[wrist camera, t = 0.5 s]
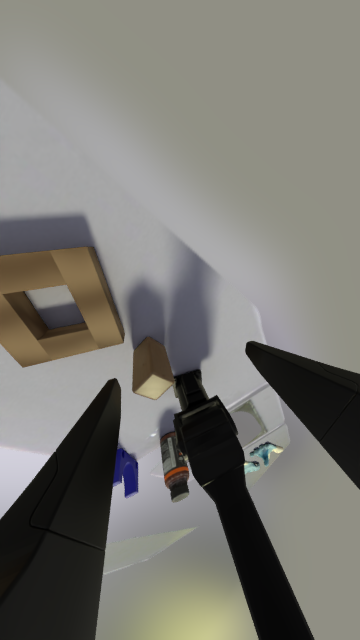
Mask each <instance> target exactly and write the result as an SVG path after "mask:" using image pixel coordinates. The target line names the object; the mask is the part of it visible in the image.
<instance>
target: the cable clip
mask: <svg viewBox="0 0 360 640" xmlns="http://www.w3.org/2000/svg"><path fill="white" fill-rule="evenodd" d="M122 475H123V478H124V486H125V498H129V497H131V496H133V495H135V494H137V493H138V462H137V461H135V460H134V459H133V458H132V457H131V456H130V455H128V454H127V453H126V452H125V451H124V450H123V449H122V448H121V449H118V450H117V455H116V463H115V472H114V480H113V487H114V486H116V485H118V484H120V483H122Z"/></svg>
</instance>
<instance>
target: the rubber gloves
mask: <svg viewBox="0 0 360 640" xmlns="http://www.w3.org/2000/svg"><path fill="white" fill-rule="evenodd" d="M268 448H269V449H268ZM272 451H274V452H276V453H280V452H282V451H283V448H282V447H279V446H274V445H272V444H265V445H261V446H260V447H259V448H258V449H256V450H255V451H254V452H252V453H250V456H251V457H253V456H254V455H257V456H259V457H261V458H262V459H263V461H264V465H265V466H268V463H269V458H270V456H269V455H270V453H271V452H272ZM257 465H258V466H255V465H254V464H253V463H252V462H246V461H245V464H244V468H245V474H247V472H252V471H257V470H259V468H260V465H259V463H258V464H257Z"/></svg>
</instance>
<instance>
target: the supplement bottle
mask: <svg viewBox="0 0 360 640" xmlns="http://www.w3.org/2000/svg"><path fill="white" fill-rule="evenodd" d="M160 445H161V454H162V463H163V471H164V479H165V485H166V487H167V488H168V489H170V491H171V499H172V502H178V501H181V500H183V499H184V498H186V497H187V496H188V495H189V489H188V485H187V481H188V479H189V471H188V466H187V462H186V461H185V460H184V457H183V455H182V453H181V452H180V451H179V450H177V446H176V434H175V432H172V433H169V434H166V435H165V436H164V437H163V438H162V439H161V441H160Z"/></svg>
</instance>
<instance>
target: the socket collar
mask: <svg viewBox="0 0 360 640" xmlns="http://www.w3.org/2000/svg"><path fill="white" fill-rule="evenodd" d="M60 285H67V286H68V288H69V290H70V292H71V294H72V296H73V298H74V300H75V302H76V304H77V306H78V308H79V310H80V312H81V314H82V316H83V318H84V320H85V323H80V324H75V325H70V326H65V327H60V328H55V329H51V330H49V329H48V328H47V326H46V325H45V323H44V322H43V320H42V319H41V317H40V316H39V314H38V313H37V311H36V310H35V308H34V307H33V305H32V304H31V302H30V301H29V299H28V298H27V296H26V295H25V293H24V292H23V291H27V290H34V289H40V288H47V287H54V286H60ZM124 336H125V333H124V330H123V327H122V324H121V322H120V319H119V316H118V313H117V311H116V308H115V305H114V302H113V300H112V297H111V294H110V291H109V289H108V286H107V283H106V280H105V278H104V275H103V272H102V269H101V266H100V264H99V261H98V258H97V255H96V253H95V250H94V247H78V248H69V249H59V250H50V251H40V252H31V253H21V254H12V255H2V256H0V344H1V345H2V346H3V347H4V348H5V349H6V350H7V351H8V352H9V353H10V354H11V356H12V357H13V358H14V359H15V360H16V361H17V362H18V363H19V364H20V365H21V366H22V367H28V366H32V365H36V364H40V363H44V362H48V361H52V360H56V359H60V358H64V357H69V356H73V355H77V354H81V353H85V352H89V351H93V350H97V349H101V348H105V347H109V346H114V345H118V344H122V343H124Z"/></svg>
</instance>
